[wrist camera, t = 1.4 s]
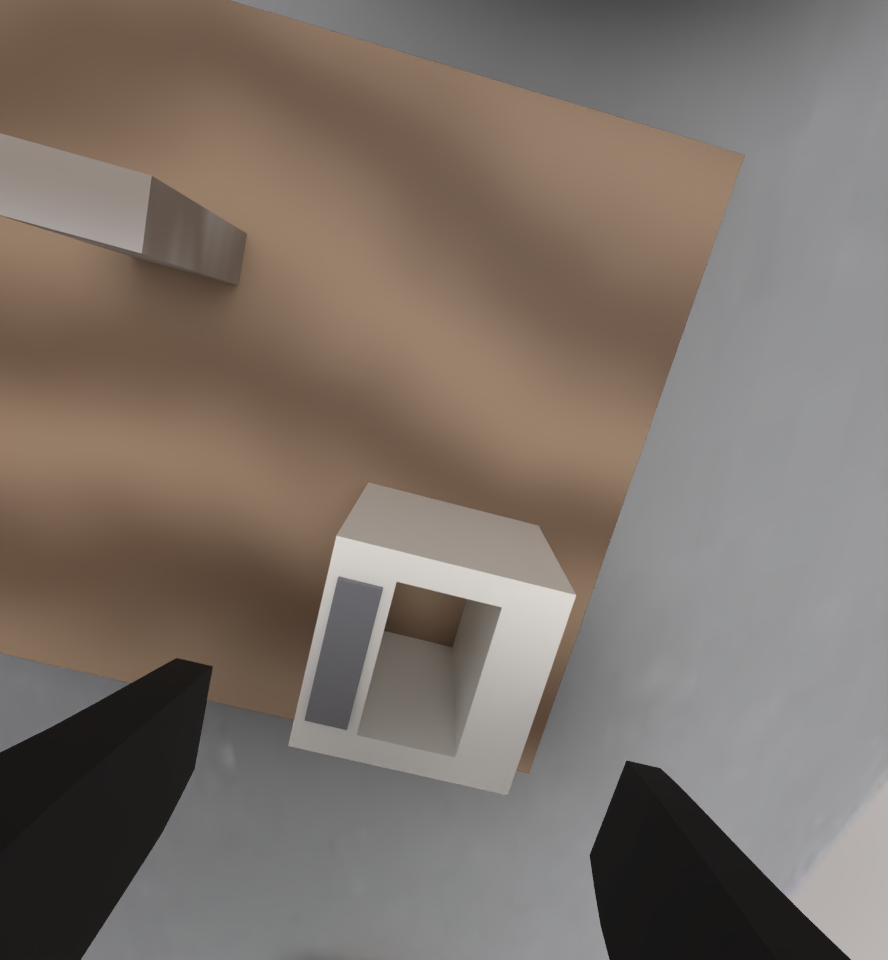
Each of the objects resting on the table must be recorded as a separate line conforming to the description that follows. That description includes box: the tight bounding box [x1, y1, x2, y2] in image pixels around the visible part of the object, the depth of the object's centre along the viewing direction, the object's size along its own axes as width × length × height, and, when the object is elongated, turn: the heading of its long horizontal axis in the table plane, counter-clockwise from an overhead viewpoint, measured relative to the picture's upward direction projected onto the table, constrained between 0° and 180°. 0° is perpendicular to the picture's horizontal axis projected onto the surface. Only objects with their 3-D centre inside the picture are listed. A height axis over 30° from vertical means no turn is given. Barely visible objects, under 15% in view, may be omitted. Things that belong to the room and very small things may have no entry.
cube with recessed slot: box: [288, 482, 576, 795], centre depth 15 cm, size 5×5×5 cm
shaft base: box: [0, 0, 745, 774], centre depth 14 cm, size 20×20×6 cm
